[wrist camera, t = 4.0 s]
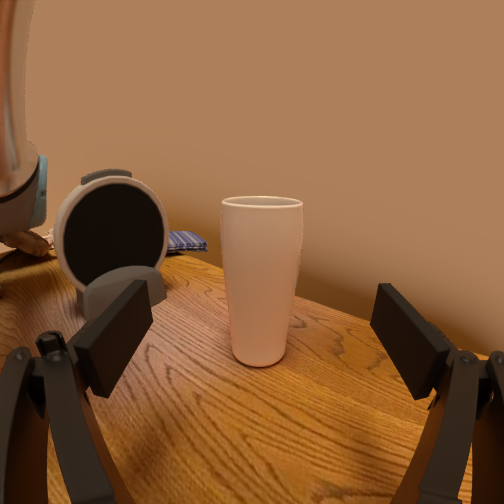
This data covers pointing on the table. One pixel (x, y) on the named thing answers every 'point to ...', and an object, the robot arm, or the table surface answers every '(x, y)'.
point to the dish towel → (185, 242)
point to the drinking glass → (260, 273)
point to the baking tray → (27, 242)
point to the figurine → (49, 235)
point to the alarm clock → (111, 239)
